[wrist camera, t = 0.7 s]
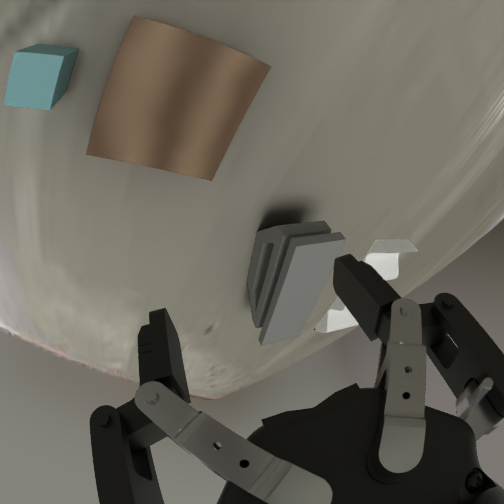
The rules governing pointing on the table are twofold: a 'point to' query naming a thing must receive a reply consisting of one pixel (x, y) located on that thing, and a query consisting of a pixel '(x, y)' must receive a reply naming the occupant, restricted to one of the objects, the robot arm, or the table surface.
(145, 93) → the walnut block
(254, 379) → the table surface
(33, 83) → the teal block
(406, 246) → the white corrugated sheet
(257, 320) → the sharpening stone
